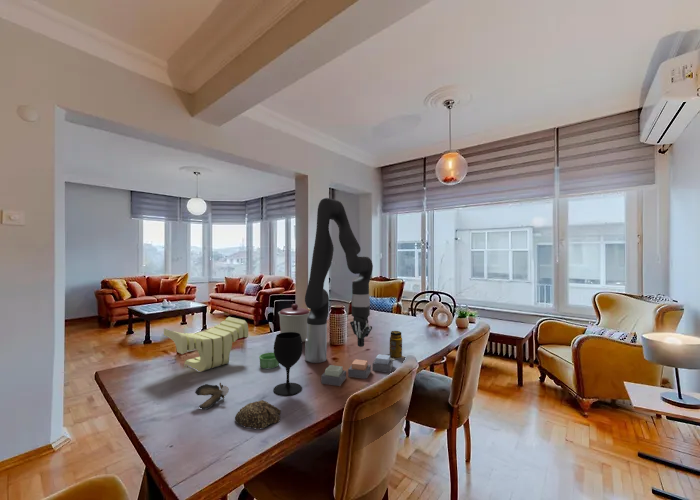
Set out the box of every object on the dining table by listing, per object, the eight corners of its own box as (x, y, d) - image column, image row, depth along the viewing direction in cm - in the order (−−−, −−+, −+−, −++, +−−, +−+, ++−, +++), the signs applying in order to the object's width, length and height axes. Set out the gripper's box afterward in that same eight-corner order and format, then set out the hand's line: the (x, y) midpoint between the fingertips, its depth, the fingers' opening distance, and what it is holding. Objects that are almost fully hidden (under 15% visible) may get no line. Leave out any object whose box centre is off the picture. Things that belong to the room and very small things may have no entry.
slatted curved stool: (181, 380, 120) (182, 334, 120) (163, 371, 130) (163, 328, 130) (247, 359, 145) (248, 321, 145) (228, 352, 154) (228, 316, 154)
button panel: (315, 378, 123) (315, 371, 123) (384, 362, 143) (384, 355, 143) (328, 389, 114) (328, 381, 114) (400, 369, 134) (400, 362, 134)
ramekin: (272, 370, 132) (272, 360, 132) (254, 367, 135) (254, 357, 135) (283, 363, 140) (283, 353, 140) (266, 360, 143) (266, 351, 143)
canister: (300, 335, 186) (300, 300, 186) (316, 342, 172) (317, 304, 172) (272, 340, 175) (272, 303, 175) (287, 348, 161) (288, 308, 161)
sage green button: (324, 377, 120) (325, 369, 120) (329, 372, 125) (329, 364, 125) (338, 379, 119) (338, 371, 119) (342, 373, 124) (342, 366, 124)
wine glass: (273, 397, 107) (274, 340, 107) (272, 385, 117) (273, 332, 117) (303, 394, 110) (304, 338, 110) (300, 382, 120) (301, 330, 120)
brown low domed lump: (229, 421, 93) (229, 404, 93) (261, 404, 103) (262, 389, 103) (257, 436, 86) (257, 418, 86) (289, 416, 96) (289, 400, 96)
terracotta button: (351, 370, 127) (351, 363, 127) (355, 366, 132) (355, 359, 132) (364, 372, 125) (364, 365, 125) (367, 367, 131) (367, 360, 131)
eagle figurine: (214, 391, 110) (190, 396, 102) (224, 375, 108) (201, 379, 101) (224, 408, 105) (199, 415, 98) (234, 393, 104) (210, 398, 97)
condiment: (405, 357, 150) (406, 332, 150) (392, 360, 145) (392, 335, 145) (395, 353, 156) (395, 329, 156) (382, 356, 151) (382, 331, 151)
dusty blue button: (375, 365, 134) (375, 358, 134) (378, 360, 139) (378, 354, 139) (388, 366, 132) (388, 359, 132) (390, 362, 137) (390, 355, 137)
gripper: (344, 303, 132) (344, 344, 132) (362, 307, 121) (363, 352, 121) (358, 301, 137) (358, 341, 136) (377, 305, 126) (378, 348, 126)
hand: (360, 346), depth 129 cm, fingers closed
